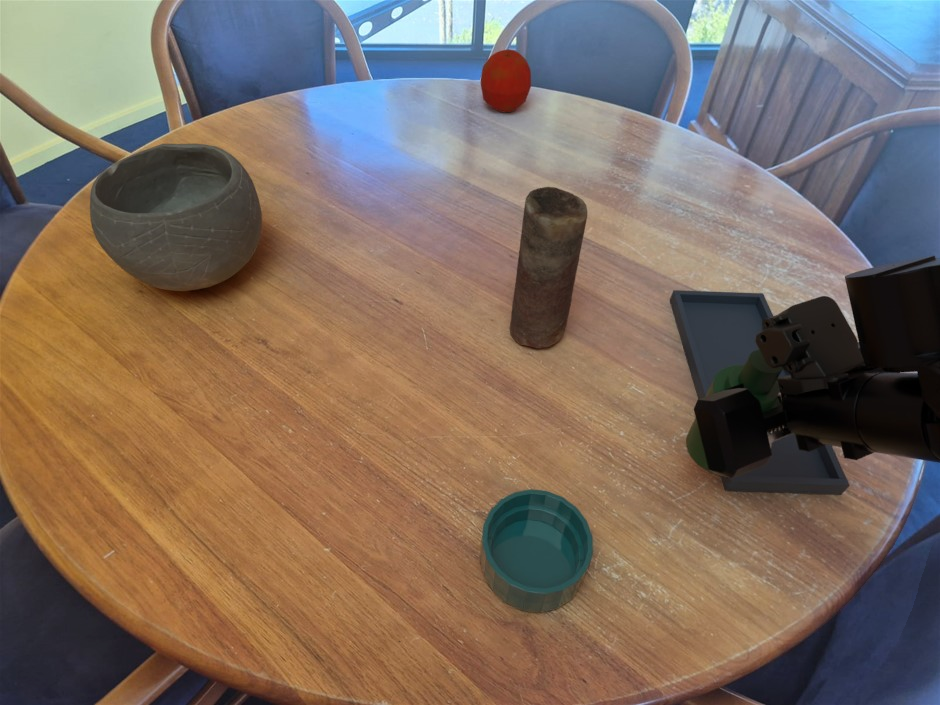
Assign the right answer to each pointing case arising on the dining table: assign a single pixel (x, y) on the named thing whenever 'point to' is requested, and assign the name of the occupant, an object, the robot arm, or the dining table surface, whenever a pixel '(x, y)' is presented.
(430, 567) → the dining table surface
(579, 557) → the glazed bowl
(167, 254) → the bowl
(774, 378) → the bottle
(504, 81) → the apple
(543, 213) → the brown textured cylinder
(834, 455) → the tray
